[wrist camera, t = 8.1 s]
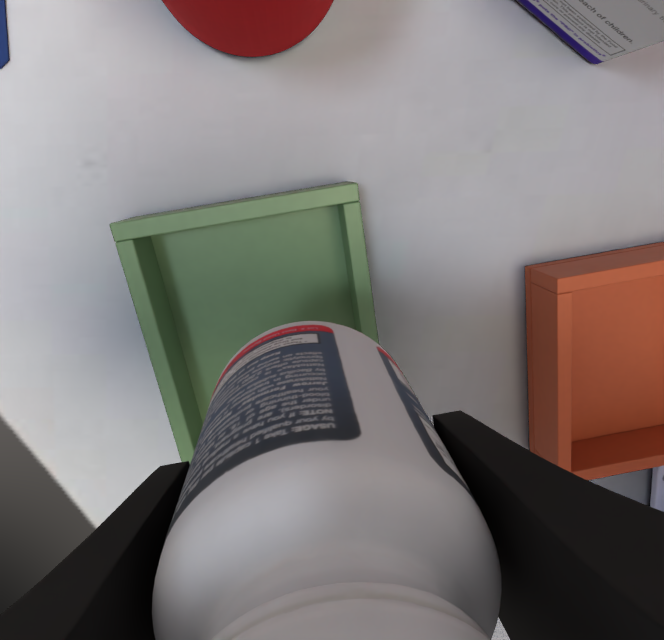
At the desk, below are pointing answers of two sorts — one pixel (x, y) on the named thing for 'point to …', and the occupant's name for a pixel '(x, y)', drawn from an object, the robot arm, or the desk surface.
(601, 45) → the supplement box
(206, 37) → the beverage can
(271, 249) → the green tray
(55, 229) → the desk surface
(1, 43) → the credit card
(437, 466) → the pill bottle
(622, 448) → the terracotta tray
